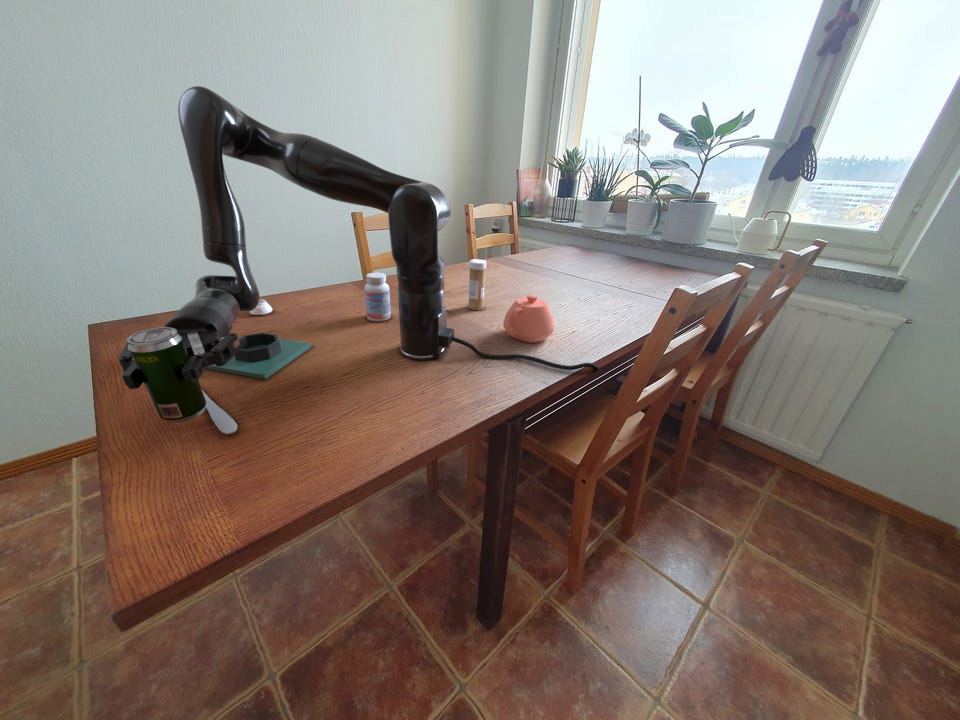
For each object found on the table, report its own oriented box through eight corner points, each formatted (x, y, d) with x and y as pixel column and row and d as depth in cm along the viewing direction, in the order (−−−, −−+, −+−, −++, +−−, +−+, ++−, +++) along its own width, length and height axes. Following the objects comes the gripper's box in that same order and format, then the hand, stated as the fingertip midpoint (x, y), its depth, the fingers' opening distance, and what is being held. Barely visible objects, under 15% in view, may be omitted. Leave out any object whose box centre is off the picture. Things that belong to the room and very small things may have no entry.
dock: (311, 347, 80) (309, 332, 79) (265, 379, 68) (261, 363, 67) (254, 338, 83) (251, 323, 81) (200, 368, 71) (194, 351, 69)
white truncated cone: (246, 315, 93) (266, 316, 93) (243, 304, 92) (263, 305, 92) (257, 308, 98) (276, 309, 98) (254, 297, 96) (273, 299, 96)
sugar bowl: (561, 336, 92) (568, 297, 87) (528, 353, 83) (533, 310, 78) (522, 321, 99) (526, 284, 95) (487, 336, 90) (490, 295, 85)
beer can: (202, 420, 51) (171, 342, 45) (154, 428, 49) (115, 347, 43) (212, 398, 55) (184, 324, 50) (168, 404, 54) (134, 328, 48)
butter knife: (217, 436, 53) (239, 426, 55) (166, 370, 69) (185, 363, 71) (218, 440, 54) (241, 429, 56) (167, 372, 69) (186, 366, 71)
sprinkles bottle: (486, 309, 106) (489, 261, 100) (473, 311, 104) (475, 263, 98) (477, 304, 110) (480, 258, 103) (464, 306, 107) (466, 259, 101)
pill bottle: (362, 319, 95) (357, 276, 90) (376, 311, 100) (373, 270, 95) (382, 323, 93) (378, 279, 88) (395, 316, 98) (393, 273, 93)
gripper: (139, 307, 57) (72, 359, 43) (245, 301, 61) (216, 347, 47) (157, 351, 61) (101, 412, 47) (257, 342, 65) (232, 396, 51)
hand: (159, 379), depth 47 cm, fingers closed on beer can, 5 cm apart
